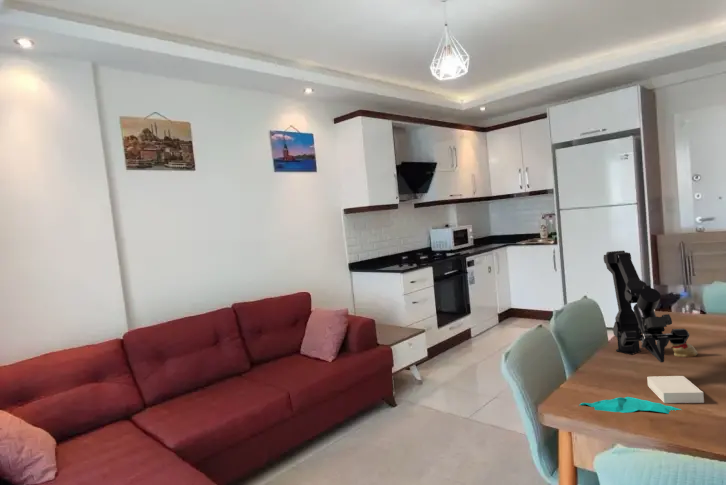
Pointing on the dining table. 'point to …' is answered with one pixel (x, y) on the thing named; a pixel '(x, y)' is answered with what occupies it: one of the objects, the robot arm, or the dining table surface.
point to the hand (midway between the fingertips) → (662, 361)
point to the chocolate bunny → (684, 350)
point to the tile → (675, 389)
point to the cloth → (629, 405)
